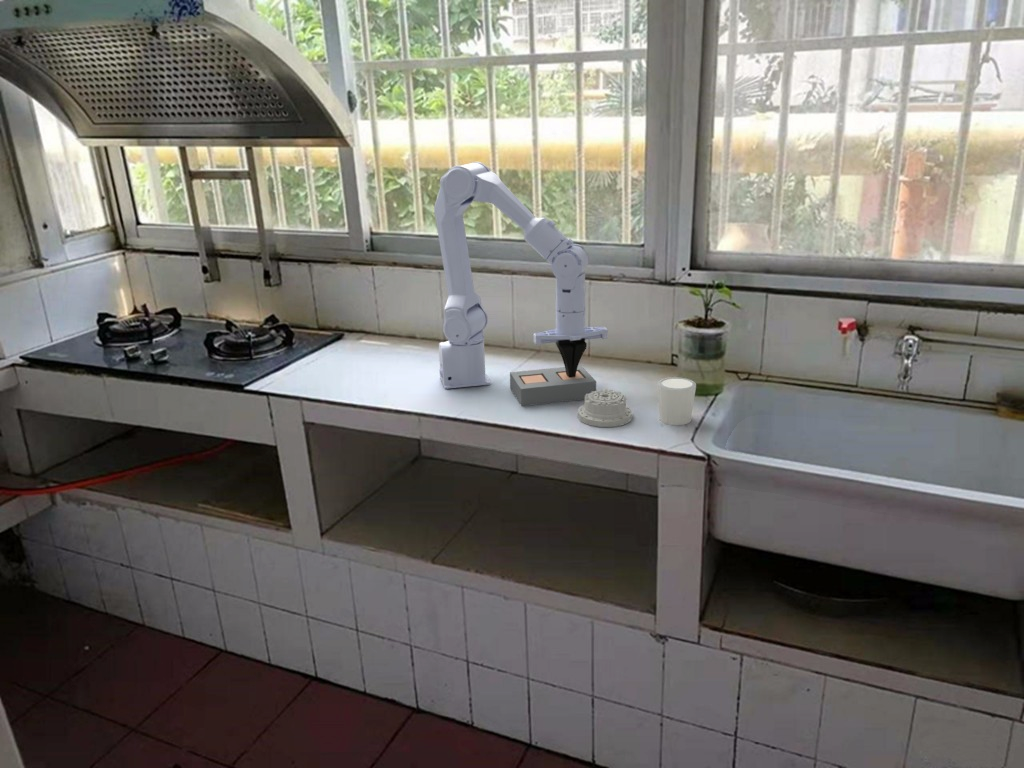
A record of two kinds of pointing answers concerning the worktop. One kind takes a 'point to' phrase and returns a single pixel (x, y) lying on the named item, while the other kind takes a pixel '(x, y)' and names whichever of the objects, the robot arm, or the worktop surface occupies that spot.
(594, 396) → the mechanical component
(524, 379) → the button
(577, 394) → the switch block
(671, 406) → the white cup
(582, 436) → the worktop surface
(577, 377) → the button
